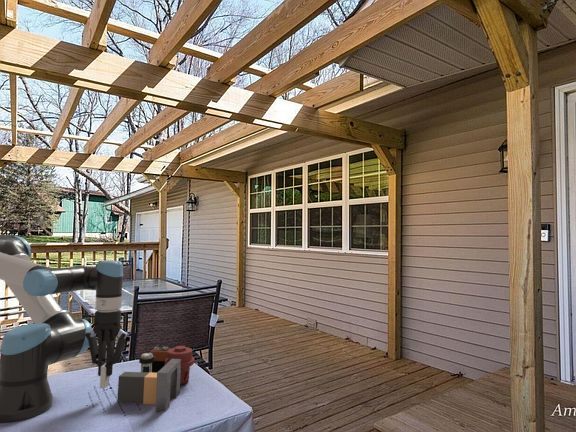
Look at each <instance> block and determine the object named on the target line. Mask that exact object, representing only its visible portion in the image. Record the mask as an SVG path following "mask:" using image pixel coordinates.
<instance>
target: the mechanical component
mask: <svg viewBox="0 0 576 432" xmlns="http://www.w3.org/2000/svg"><path fill="white" fill-rule="evenodd" d="M171 359H181V372H180V386H181V385H184V384H188V383H189V380H190V370H191V368H190V367H192V366H193V365H194V364H195V357H194V356H193V349H192V348H191V347H186V346H185V345H177V346H174V347H173V348H170V350H168V358H167V359H166V360H165V365H166V364H167V363H168V362H169V361H170V360H171Z"/></svg>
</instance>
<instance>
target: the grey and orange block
mask: <svg viewBox="0 0 576 432" xmlns="http://www.w3.org/2000/svg"><path fill="white" fill-rule="evenodd" d="M156 385H157V373H150V372H141V371H123V372H122V373H121V374H119V375H118V382H117V404H129V403H130V404H132V405H135V404H134V403H136V405H137V404H138V405H156Z"/></svg>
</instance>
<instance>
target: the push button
mask: <svg viewBox="0 0 576 432" xmlns="http://www.w3.org/2000/svg"><path fill="white" fill-rule="evenodd" d="M154 358H155V356H153V355H152V353H150V352H145V353H142V354H141V355H140V356H139V357H138V361H139V364H140V372H150V373H152V362H154Z"/></svg>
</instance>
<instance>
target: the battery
mask: <svg viewBox="0 0 576 432" xmlns="http://www.w3.org/2000/svg"><path fill="white" fill-rule="evenodd" d="M170 349H171V348H169V346H163V347H159V346H155V347H154V348H153V349H152V350H150V352H149V353H152V355H153V356H155V358H154V362H152V373H157V372H158V371H160V370H161V369H162V368H163V367H164V366H165V360H166V359H167V358H168V350H170Z"/></svg>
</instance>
